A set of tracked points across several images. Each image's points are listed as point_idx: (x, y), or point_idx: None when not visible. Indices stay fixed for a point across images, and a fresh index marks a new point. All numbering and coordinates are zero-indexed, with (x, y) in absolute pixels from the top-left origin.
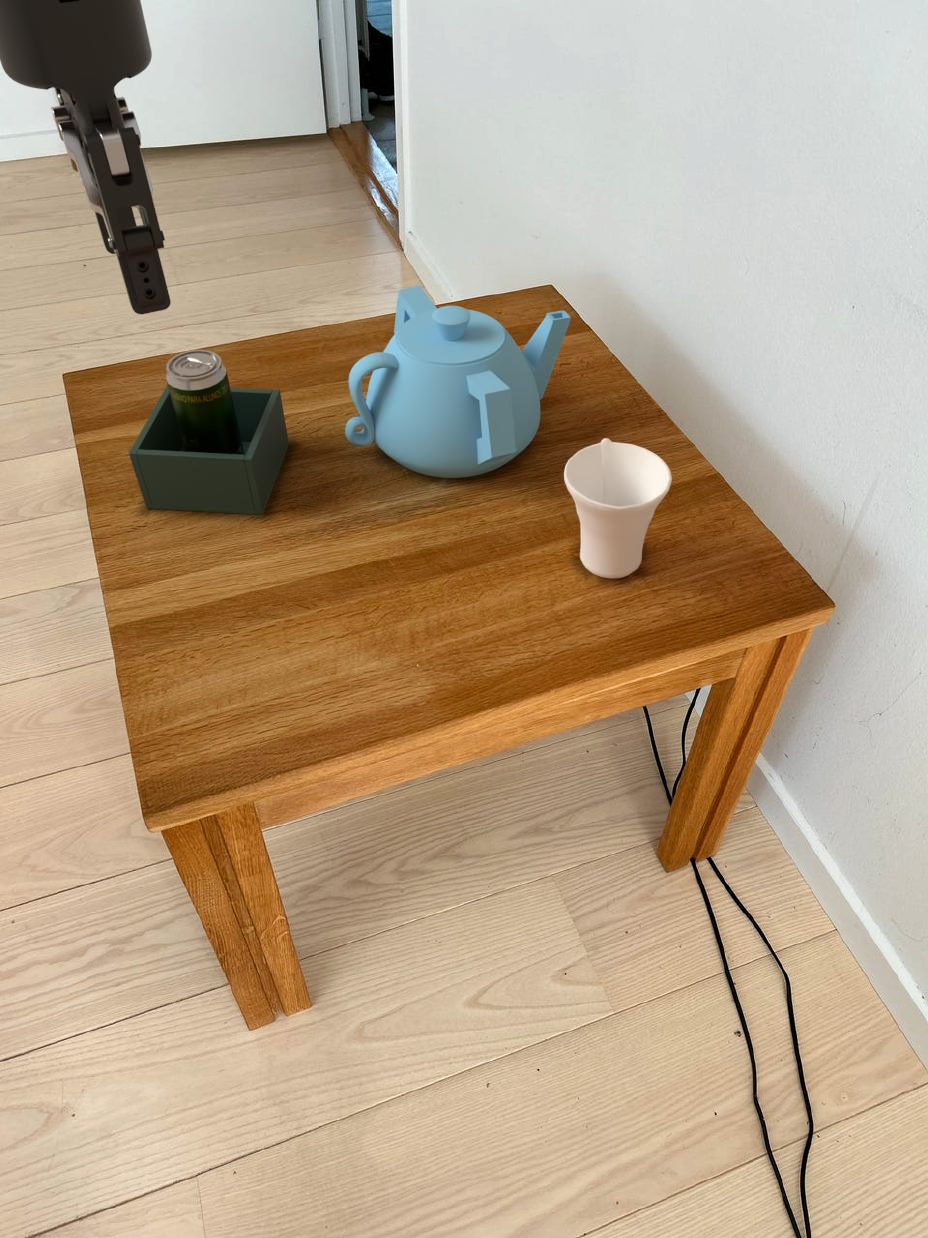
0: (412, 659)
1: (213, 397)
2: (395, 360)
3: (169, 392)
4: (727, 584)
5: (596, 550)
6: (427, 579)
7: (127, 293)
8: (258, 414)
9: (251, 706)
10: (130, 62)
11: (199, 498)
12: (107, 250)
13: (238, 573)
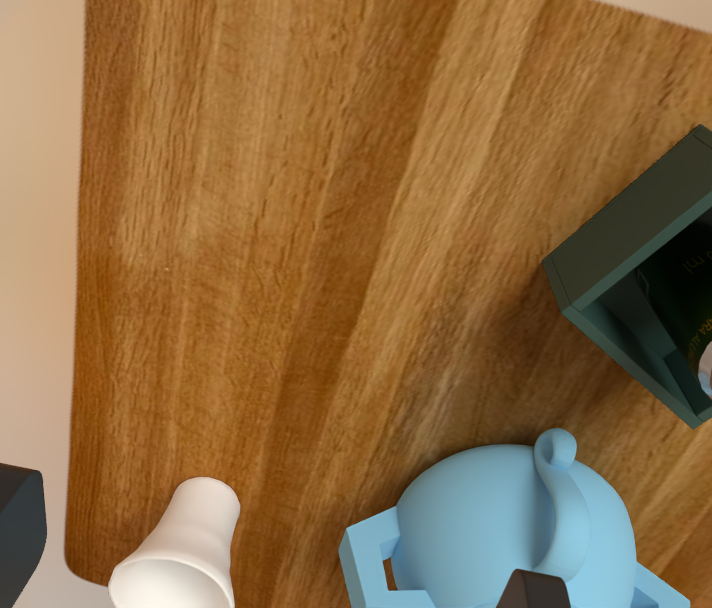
0: (178, 269)
1: (690, 350)
2: None
3: None
4: (122, 544)
5: (181, 503)
6: (288, 353)
7: (1, 508)
8: None
9: (203, 66)
10: None
11: (625, 204)
12: (523, 573)
13: (451, 173)
